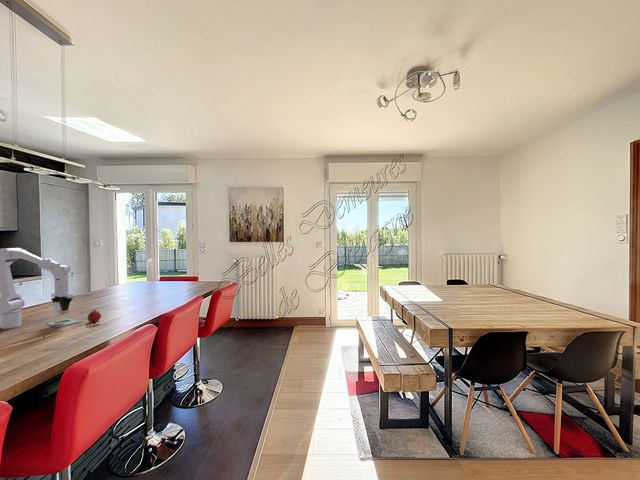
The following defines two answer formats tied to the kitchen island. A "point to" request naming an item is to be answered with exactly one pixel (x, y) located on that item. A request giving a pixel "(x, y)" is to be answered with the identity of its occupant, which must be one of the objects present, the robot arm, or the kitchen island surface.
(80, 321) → the hole plate
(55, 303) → the steel peg
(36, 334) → the kitchen island surface
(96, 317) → the onion
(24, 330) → the brown square plate
